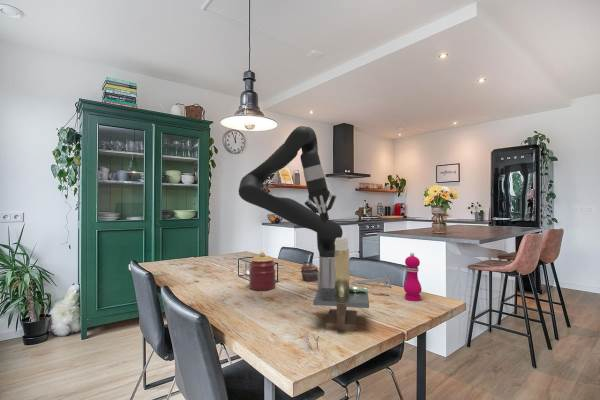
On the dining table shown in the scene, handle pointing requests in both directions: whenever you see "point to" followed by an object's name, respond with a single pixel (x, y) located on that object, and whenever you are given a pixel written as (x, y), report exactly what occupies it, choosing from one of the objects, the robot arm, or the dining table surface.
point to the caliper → (378, 280)
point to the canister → (262, 273)
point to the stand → (342, 319)
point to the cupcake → (309, 272)
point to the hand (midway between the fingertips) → (325, 222)
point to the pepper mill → (412, 279)
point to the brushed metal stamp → (342, 283)
